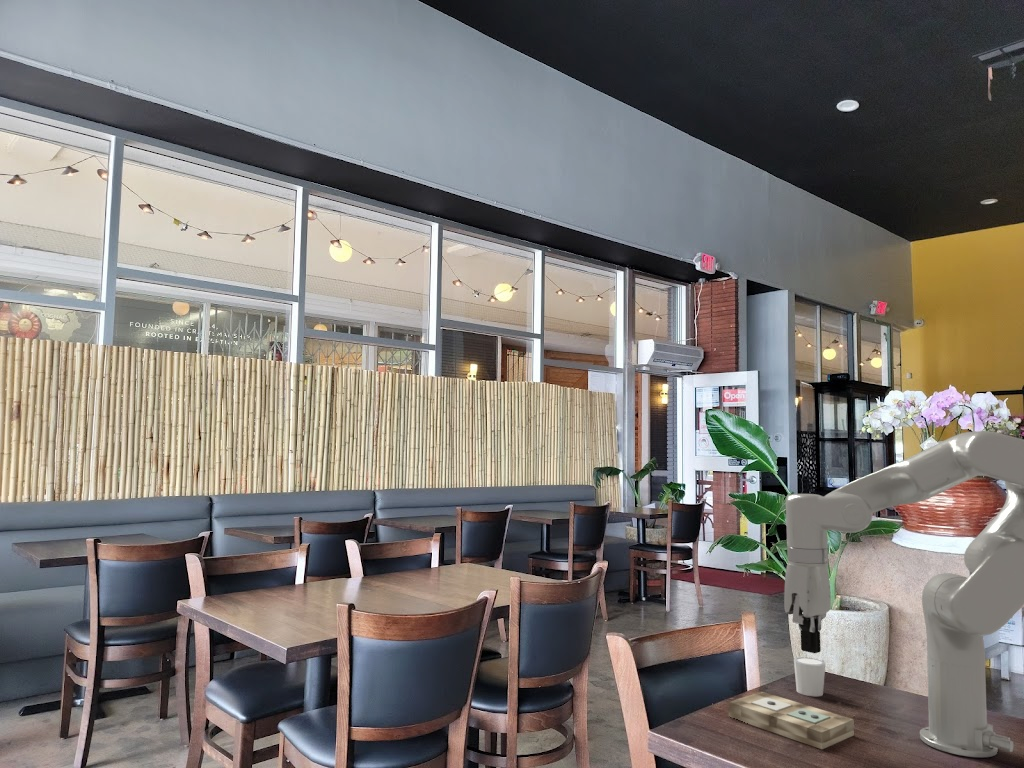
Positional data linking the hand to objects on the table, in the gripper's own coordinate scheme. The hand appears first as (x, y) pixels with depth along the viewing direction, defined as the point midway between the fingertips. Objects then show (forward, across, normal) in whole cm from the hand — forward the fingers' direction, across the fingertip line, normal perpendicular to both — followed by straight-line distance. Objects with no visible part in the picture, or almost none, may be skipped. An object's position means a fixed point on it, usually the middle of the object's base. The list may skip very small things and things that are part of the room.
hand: (810, 651), depth 144 cm
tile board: (+15, +1, -5) cm, 16 cm away
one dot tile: (+14, +1, -9) cm, 17 cm away
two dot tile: (+14, +1, -1) cm, 14 cm away
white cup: (+16, -23, -14) cm, 31 cm away
